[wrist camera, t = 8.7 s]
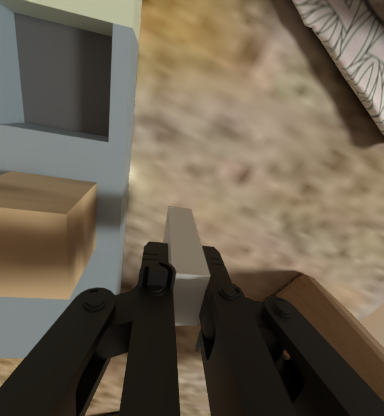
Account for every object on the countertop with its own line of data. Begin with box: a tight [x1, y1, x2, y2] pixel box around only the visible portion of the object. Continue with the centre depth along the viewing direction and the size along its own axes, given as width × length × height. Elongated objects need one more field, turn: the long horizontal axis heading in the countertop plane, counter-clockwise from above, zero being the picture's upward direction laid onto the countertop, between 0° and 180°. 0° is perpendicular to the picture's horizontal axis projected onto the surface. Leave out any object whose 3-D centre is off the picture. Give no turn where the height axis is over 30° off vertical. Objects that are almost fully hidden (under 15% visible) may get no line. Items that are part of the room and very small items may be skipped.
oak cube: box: [0, 171, 97, 300], centre depth 13 cm, size 5×5×5 cm
